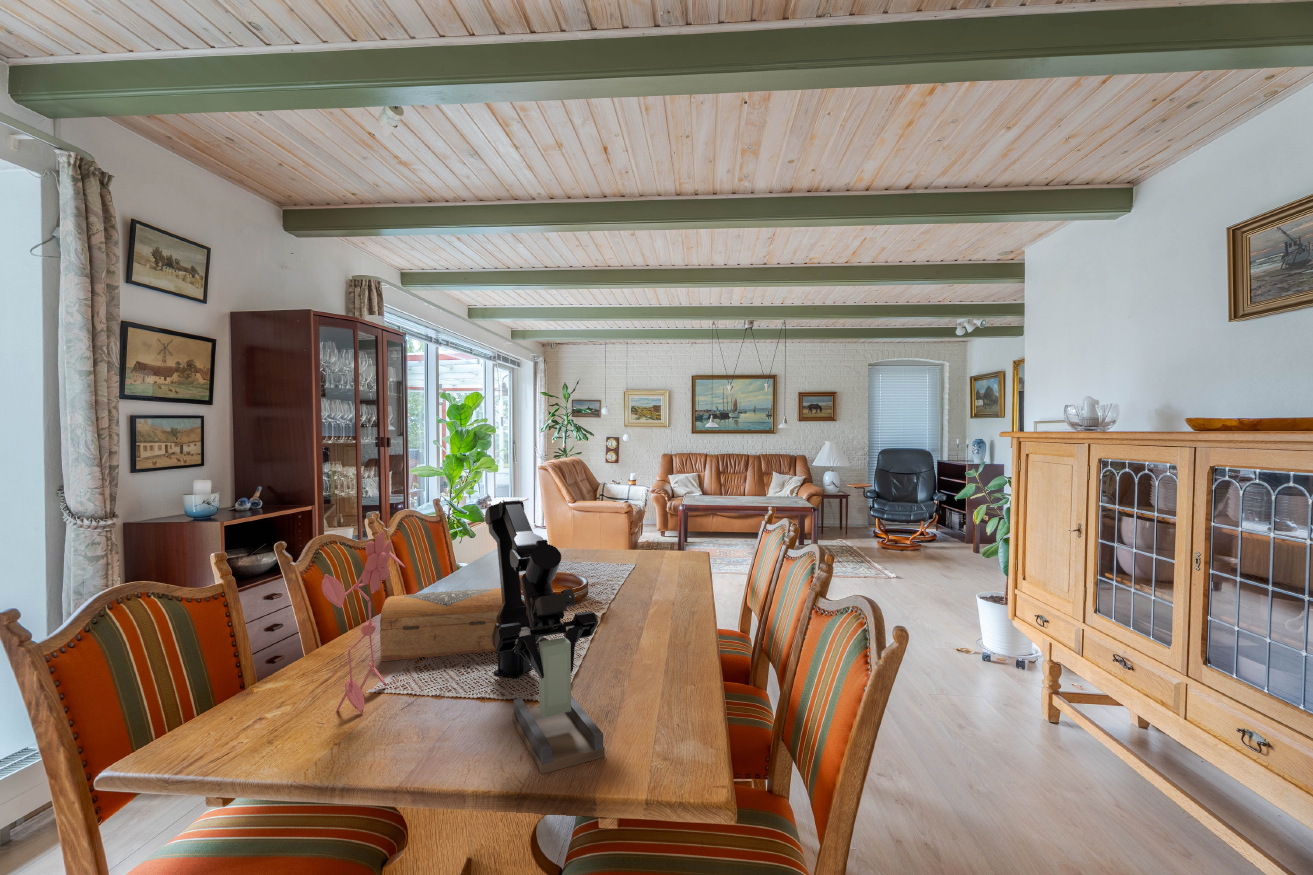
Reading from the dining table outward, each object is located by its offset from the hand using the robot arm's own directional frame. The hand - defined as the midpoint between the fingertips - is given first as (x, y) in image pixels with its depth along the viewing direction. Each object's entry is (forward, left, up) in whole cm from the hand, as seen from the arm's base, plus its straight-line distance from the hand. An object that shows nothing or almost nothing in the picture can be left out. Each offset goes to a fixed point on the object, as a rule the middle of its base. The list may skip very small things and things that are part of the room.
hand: (557, 674), depth 106 cm
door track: (-1, +1, -12) cm, 12 cm away
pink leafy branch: (-43, +1, -12) cm, 45 cm away
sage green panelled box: (-1, +1, -7) cm, 7 cm away
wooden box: (-52, +31, -12) cm, 62 cm away
